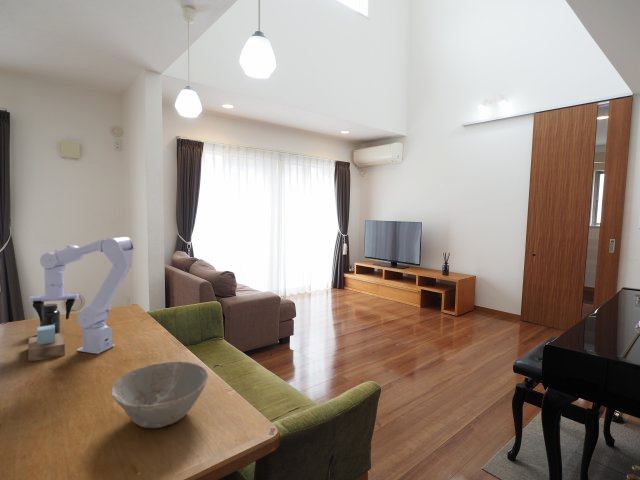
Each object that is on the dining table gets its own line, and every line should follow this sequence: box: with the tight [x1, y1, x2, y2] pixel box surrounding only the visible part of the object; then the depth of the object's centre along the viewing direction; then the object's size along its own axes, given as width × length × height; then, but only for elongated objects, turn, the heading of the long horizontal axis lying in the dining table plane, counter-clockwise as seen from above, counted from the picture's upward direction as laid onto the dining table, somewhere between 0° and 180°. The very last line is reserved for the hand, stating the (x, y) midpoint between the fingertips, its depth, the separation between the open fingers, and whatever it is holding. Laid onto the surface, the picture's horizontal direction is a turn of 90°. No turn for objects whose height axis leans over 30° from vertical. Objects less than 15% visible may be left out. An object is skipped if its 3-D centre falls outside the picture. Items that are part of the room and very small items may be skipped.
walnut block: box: [27, 332, 66, 362], centre depth 125 cm, size 10×14×4 cm
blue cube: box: [36, 325, 55, 345], centre depth 124 cm, size 5×5×5 cm
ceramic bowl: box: [111, 361, 209, 429], centre depth 88 cm, size 22×23×10 cm
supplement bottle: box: [39, 303, 61, 334], centre depth 143 cm, size 7×7×12 cm
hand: (55, 319), depth 129 cm, fingers open, 7 cm apart
